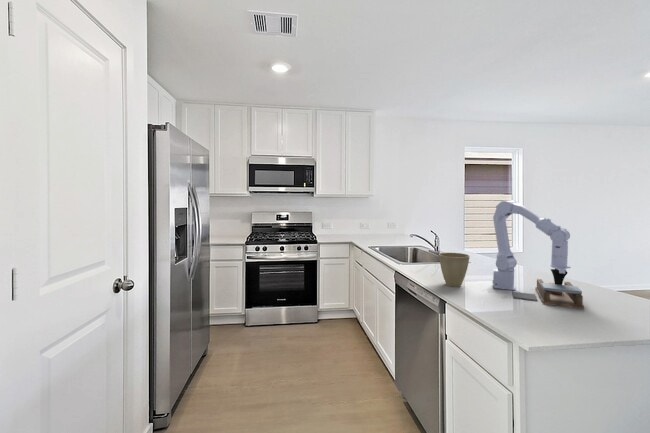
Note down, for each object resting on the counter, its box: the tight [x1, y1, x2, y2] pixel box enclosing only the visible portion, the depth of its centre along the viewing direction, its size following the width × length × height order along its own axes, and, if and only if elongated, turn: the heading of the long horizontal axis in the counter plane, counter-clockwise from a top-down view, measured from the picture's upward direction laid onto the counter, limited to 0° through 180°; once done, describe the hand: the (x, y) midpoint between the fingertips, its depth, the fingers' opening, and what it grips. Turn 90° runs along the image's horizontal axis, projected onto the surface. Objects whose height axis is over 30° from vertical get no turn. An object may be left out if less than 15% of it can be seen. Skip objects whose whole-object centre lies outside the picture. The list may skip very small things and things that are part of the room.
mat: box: [511, 291, 538, 302], centre depth 143 cm, size 9×9×1 cm
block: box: [548, 282, 562, 295], centre depth 146 cm, size 4×4×5 cm
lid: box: [541, 282, 583, 295], centre depth 136 cm, size 13×8×1 cm, turn 62°
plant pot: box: [438, 252, 471, 287], centre depth 163 cm, size 15×15×16 cm
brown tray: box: [535, 278, 585, 309], centre depth 141 cm, size 14×23×5 cm, turn 152°
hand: (558, 285), depth 140 cm, fingers closed
